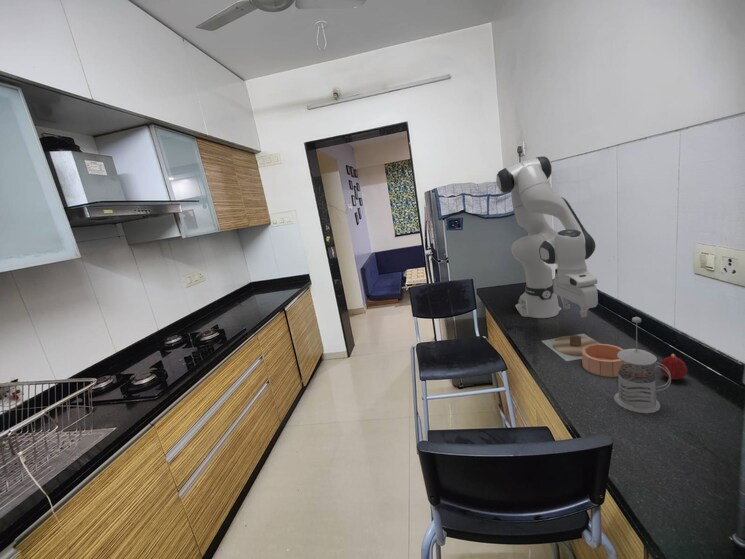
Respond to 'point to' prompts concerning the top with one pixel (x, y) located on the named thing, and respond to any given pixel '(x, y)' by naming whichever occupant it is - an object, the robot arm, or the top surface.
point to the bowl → (602, 359)
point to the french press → (636, 394)
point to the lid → (572, 344)
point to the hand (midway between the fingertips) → (574, 312)
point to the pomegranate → (673, 367)
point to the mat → (564, 356)
